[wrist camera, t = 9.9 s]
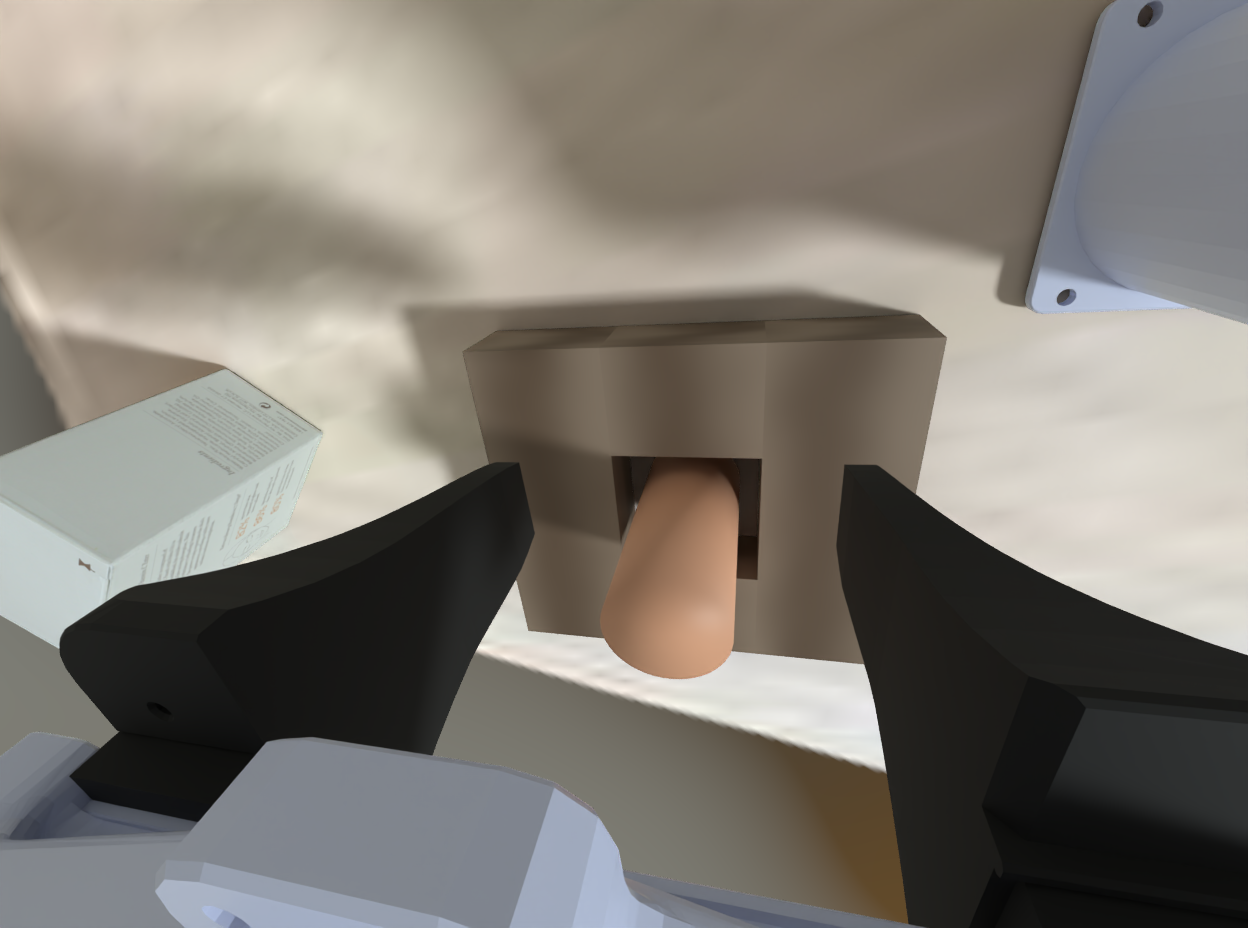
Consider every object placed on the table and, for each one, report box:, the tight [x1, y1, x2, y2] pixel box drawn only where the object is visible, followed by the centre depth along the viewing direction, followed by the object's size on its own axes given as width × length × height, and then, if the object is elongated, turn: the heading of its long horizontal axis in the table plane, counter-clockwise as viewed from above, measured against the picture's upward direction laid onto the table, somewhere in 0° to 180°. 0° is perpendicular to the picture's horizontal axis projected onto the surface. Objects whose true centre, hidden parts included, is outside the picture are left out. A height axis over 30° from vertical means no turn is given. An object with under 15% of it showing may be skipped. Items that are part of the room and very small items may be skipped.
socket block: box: [463, 315, 947, 664], centre depth 22 cm, size 16×14×3 cm
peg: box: [600, 457, 740, 679], centre depth 19 cm, size 4×4×9 cm
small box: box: [0, 369, 323, 649], centre depth 24 cm, size 8×6×10 cm
